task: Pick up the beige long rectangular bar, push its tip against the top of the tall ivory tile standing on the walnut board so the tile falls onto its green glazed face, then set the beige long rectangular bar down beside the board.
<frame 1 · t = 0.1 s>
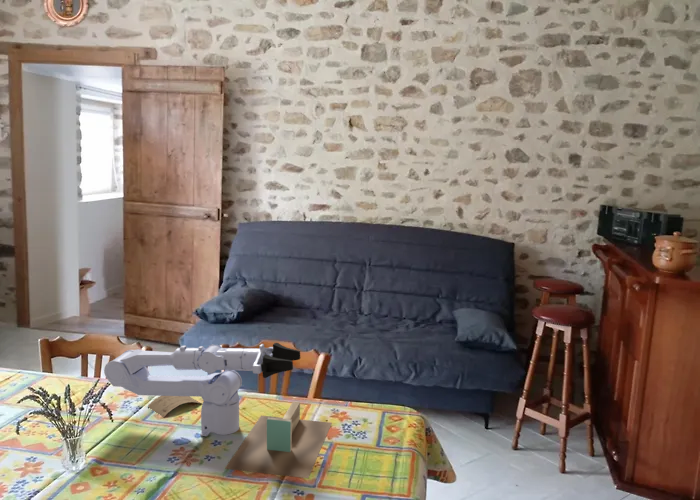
hand: (296, 360, 155), 22 cm above the table, tool horizontal, fingers open, 7 cm apart
brown curved sheet: (174, 407, 177), on the table
beige long rectangular bar: (291, 428, 163), point 1 cm above the table, touching board
tile: (279, 449, 151), point 1 cm above the table, touching board
board: (282, 447, 154), on the table
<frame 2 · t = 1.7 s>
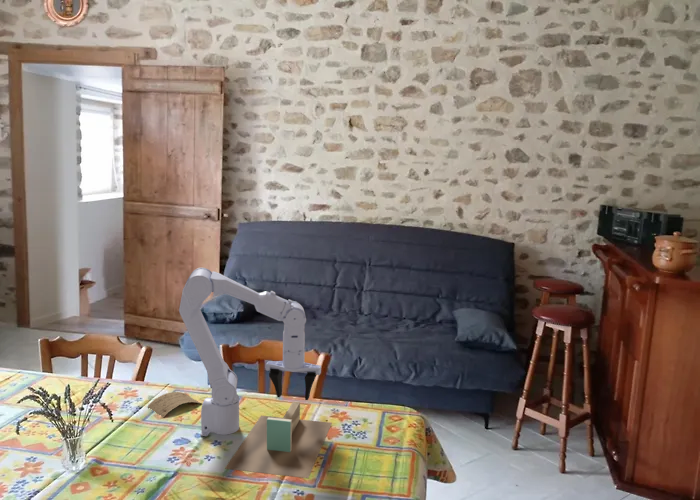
hand: (293, 397, 163), 9 cm above the table, tool pointing down, fingers open, 7 cm apart
nothing on the table moved.
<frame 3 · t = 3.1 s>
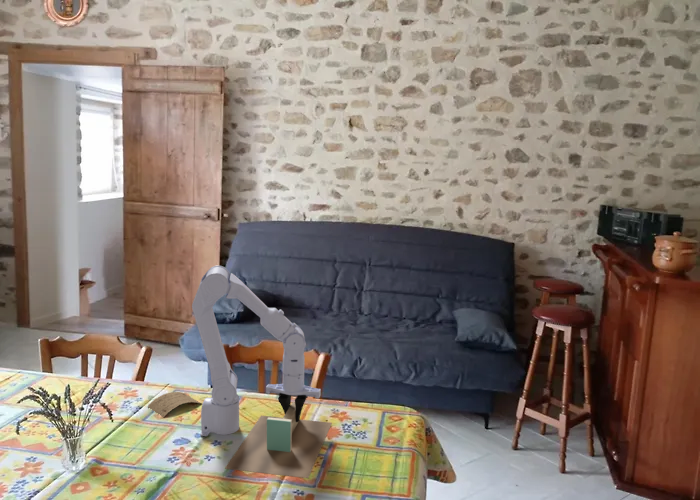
hand: (293, 420, 164), 2 cm above the table, tool pointing down, fingers closed on beige long rectangular bar, 2 cm apart
beige long rectangular bar: (291, 428, 163), point 1 cm above the table, touching board, gripper
everything else where it was.
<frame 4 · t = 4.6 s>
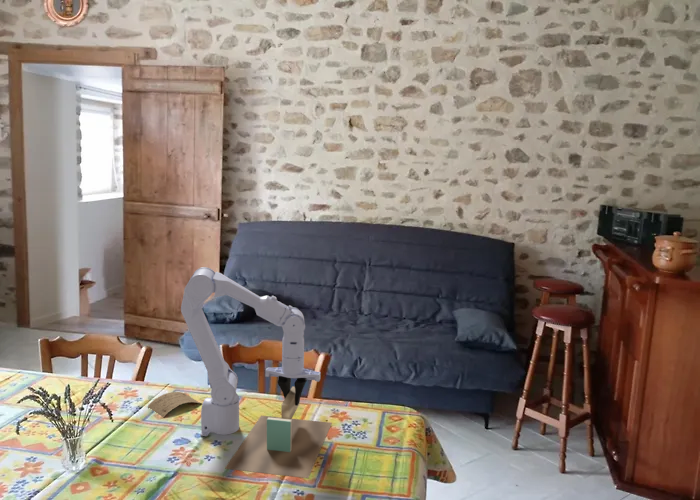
hand: (292, 403, 163), 7 cm above the table, tool pointing down, fingers closed on beige long rectangular bar
beige long rectangular bar: (290, 412, 161), point 6 cm above the table, touching gripper
everything else where it was.
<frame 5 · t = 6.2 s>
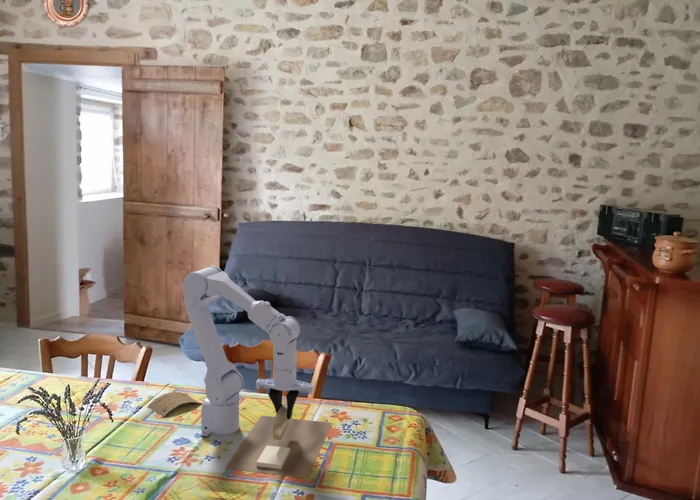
hand: (284, 417, 155), 7 cm above the table, tool pointing down, fingers closed on beige long rectangular bar
beige long rectangular bar: (282, 428, 154), point 5 cm above the table, touching gripper
tile: (278, 448, 151), point 2 cm above the table, tilted 90°, touching board
everything else where it was.
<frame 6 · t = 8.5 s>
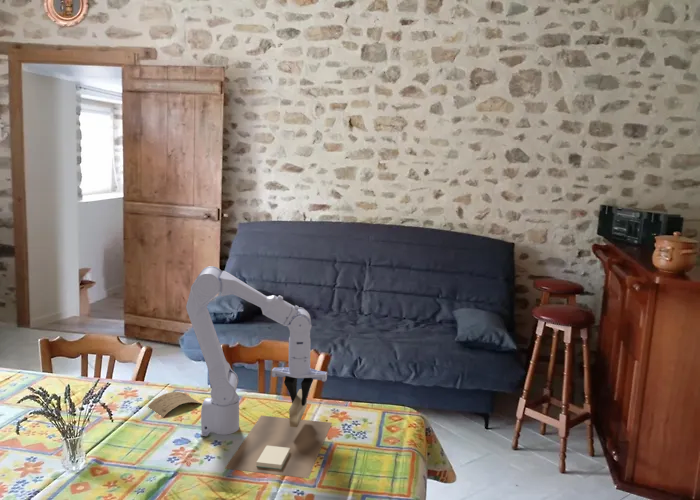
hand: (299, 403, 163), 7 cm above the table, tool pointing down, fingers closed on beige long rectangular bar
beige long rectangular bar: (298, 415, 163), point 4 cm above the table, touching gripper
everything else where it was.
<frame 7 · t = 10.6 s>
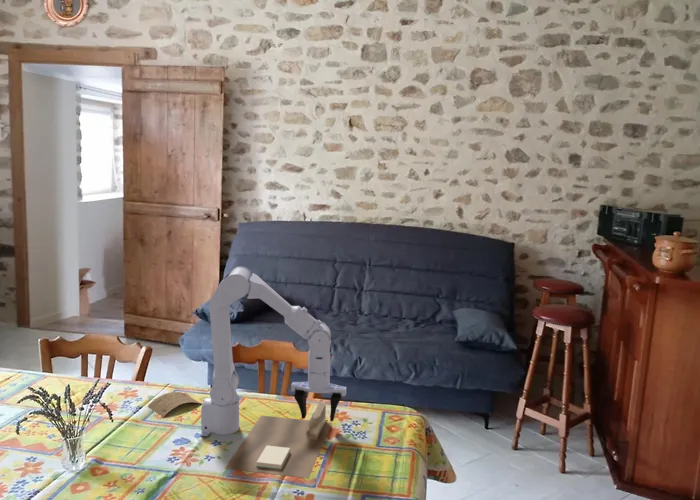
hand: (318, 418, 162), 4 cm above the table, tool pointing down, fingers open, 7 cm apart
beige long rectangular bar: (317, 429, 162), point 1 cm above the table, touching board
everything else where it was.
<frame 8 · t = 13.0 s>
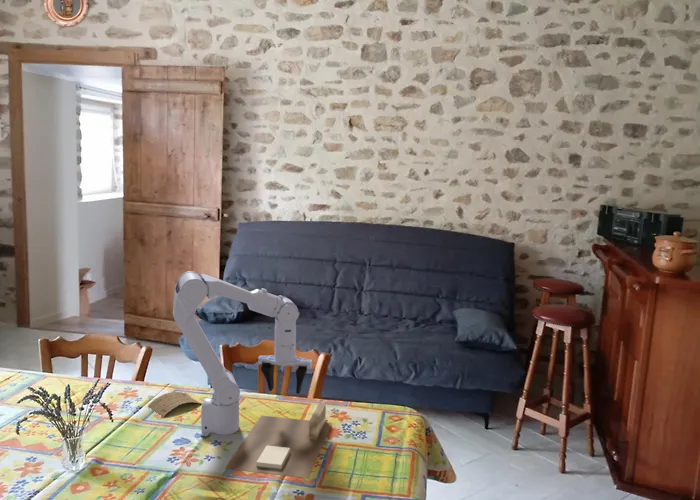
hand: (284, 390, 166), 9 cm above the table, tool pointing down, fingers open, 7 cm apart
nothing on the table moved.
at the end: tile tilted 90°; tile inside the target area (2.2 cm from its centre), point 1.6 cm above the table; beige long rectangular bar inside the target area (2.3 cm from its centre), point 1.0 cm above the table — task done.
